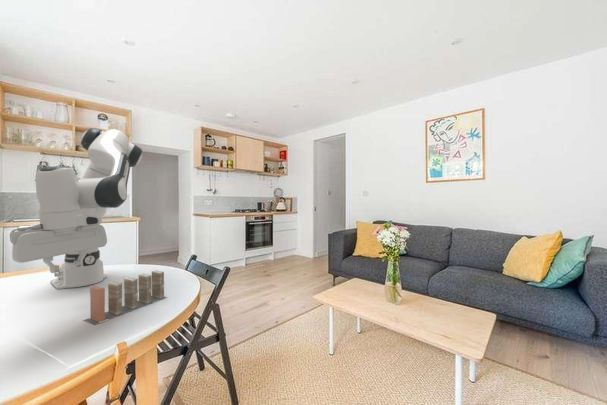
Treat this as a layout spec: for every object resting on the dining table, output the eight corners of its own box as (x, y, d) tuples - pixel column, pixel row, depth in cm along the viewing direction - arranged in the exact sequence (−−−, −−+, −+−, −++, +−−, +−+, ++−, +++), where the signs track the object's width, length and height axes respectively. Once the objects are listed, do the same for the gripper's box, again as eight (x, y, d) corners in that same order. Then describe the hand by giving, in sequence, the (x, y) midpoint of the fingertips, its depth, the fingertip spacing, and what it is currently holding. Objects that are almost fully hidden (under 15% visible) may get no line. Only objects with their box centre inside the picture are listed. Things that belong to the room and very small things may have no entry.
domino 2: (132, 309, 88) (132, 280, 88) (124, 306, 90) (124, 278, 90) (137, 307, 89) (137, 279, 89) (129, 304, 92) (128, 277, 91)
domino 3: (147, 303, 92) (147, 276, 92) (138, 301, 95) (138, 274, 94) (151, 302, 94) (151, 275, 94) (143, 299, 96) (142, 273, 96)
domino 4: (160, 299, 97) (160, 272, 97) (151, 296, 99) (151, 271, 99) (164, 297, 98) (163, 271, 98) (155, 295, 101) (155, 270, 100)
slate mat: (82, 321, 80) (82, 319, 80) (155, 295, 102) (155, 294, 102) (94, 326, 77) (94, 324, 77) (167, 298, 99) (167, 297, 99)
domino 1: (117, 315, 83) (116, 285, 83) (108, 312, 86) (108, 282, 85) (122, 313, 85) (122, 283, 85) (113, 310, 87) (113, 281, 87)
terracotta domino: (96, 316, 82) (96, 286, 82) (105, 320, 80) (104, 288, 80) (90, 318, 81) (90, 287, 81) (99, 322, 79) (98, 290, 79)
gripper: (13, 227, 63) (20, 283, 63) (107, 217, 81) (111, 260, 82) (3, 227, 65) (10, 280, 66) (96, 217, 84) (101, 259, 84)
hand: (67, 269), depth 74 cm, fingers open, 4 cm apart
